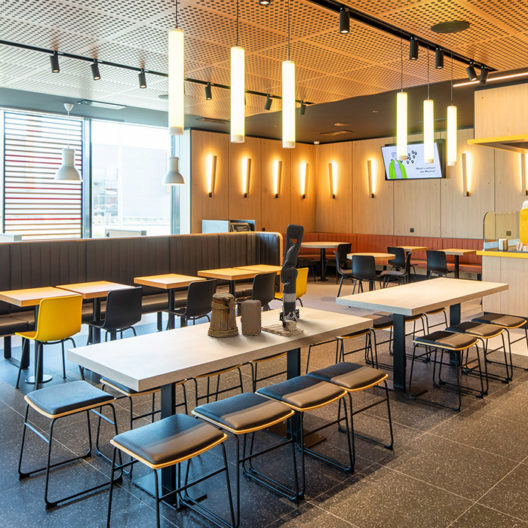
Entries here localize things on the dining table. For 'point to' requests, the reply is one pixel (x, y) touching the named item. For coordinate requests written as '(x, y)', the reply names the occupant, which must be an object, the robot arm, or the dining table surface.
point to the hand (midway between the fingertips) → (289, 326)
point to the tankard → (223, 316)
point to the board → (280, 330)
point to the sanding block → (290, 326)
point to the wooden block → (251, 317)
